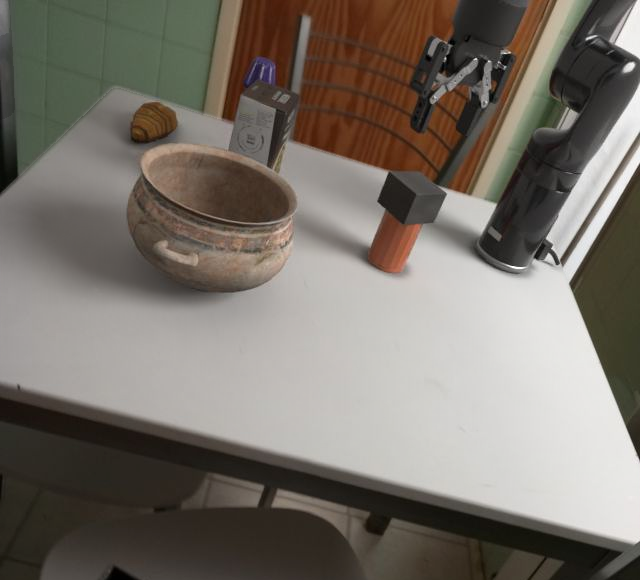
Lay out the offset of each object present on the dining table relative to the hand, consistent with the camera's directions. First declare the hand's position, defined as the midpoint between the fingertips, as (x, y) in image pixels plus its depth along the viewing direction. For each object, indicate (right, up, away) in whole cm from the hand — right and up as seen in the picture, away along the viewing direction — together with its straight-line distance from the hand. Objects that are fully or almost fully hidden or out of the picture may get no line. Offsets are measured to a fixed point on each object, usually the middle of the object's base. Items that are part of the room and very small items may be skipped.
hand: (439, 131), depth 87 cm
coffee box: (-26, -6, +11) cm, 29 cm away
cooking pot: (-30, -19, -5) cm, 36 cm away
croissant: (-41, +8, +20) cm, 47 cm away
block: (-3, -8, +7) cm, 11 cm away
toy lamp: (-28, +2, +19) cm, 34 cm away
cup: (-6, -14, +12) cm, 19 cm away
